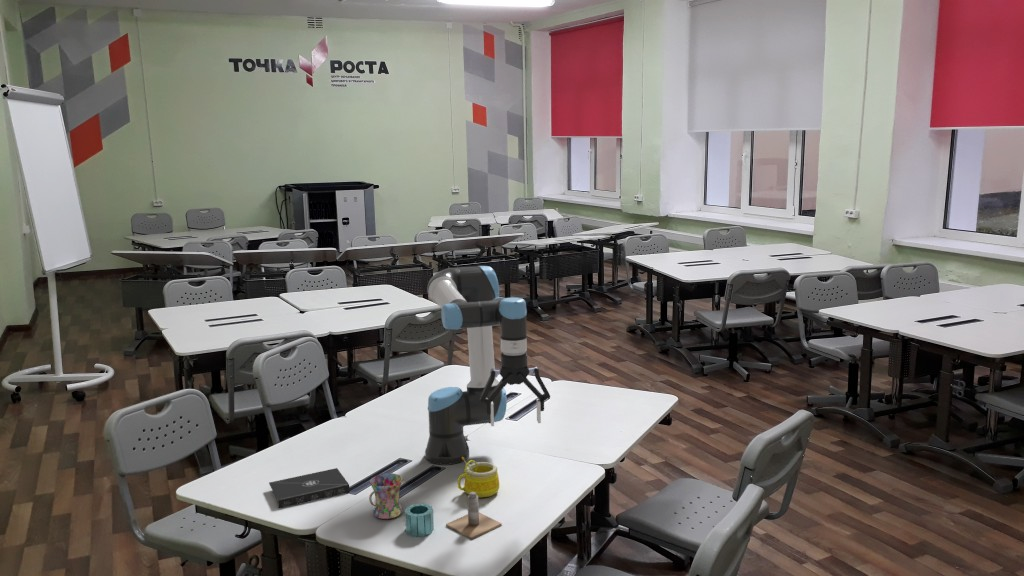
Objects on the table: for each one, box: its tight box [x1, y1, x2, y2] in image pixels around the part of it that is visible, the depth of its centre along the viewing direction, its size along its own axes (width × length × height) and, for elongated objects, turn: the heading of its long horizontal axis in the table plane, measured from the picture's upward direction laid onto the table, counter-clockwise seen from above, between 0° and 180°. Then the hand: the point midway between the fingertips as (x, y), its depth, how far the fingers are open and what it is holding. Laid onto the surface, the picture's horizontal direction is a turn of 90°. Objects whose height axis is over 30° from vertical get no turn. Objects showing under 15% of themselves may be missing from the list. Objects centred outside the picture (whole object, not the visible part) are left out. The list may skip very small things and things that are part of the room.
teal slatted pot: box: [404, 503, 435, 538], centre depth 212 cm, size 8×8×6 cm
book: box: [268, 467, 351, 509], centre depth 238 cm, size 22×15×3 cm
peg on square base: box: [445, 492, 503, 541], centre depth 213 cm, size 11×11×10 cm
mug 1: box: [368, 472, 404, 520], centre depth 220 cm, size 12×9×11 cm
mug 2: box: [457, 457, 500, 499], centre depth 234 cm, size 13×11×12 cm
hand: (515, 423), depth 222 cm, fingers open, 13 cm apart
